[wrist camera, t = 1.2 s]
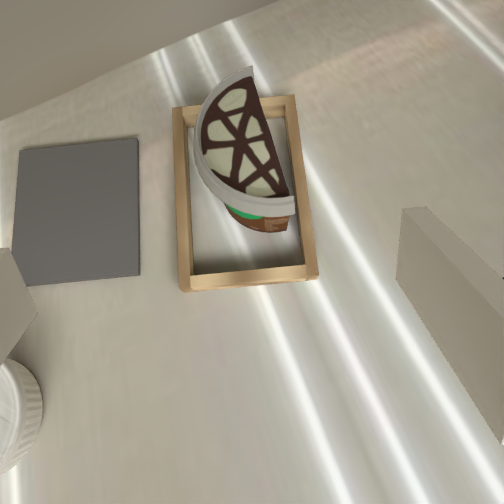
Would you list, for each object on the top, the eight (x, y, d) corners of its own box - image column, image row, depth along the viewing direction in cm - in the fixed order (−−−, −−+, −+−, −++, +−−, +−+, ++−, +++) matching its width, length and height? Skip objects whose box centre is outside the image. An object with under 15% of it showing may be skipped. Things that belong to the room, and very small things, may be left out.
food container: (197, 147, 40) (172, 79, 31) (256, 132, 40) (250, 59, 31) (226, 262, 37) (209, 226, 27) (290, 245, 37) (296, 203, 27)
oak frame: (293, 107, 41) (294, 94, 39) (316, 279, 36) (318, 274, 34) (176, 119, 41) (172, 107, 39) (184, 292, 36) (179, 288, 34)
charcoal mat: (138, 141, 41) (136, 138, 40) (140, 275, 37) (138, 273, 36) (23, 153, 41) (19, 150, 41) (12, 287, 37) (8, 286, 37)
